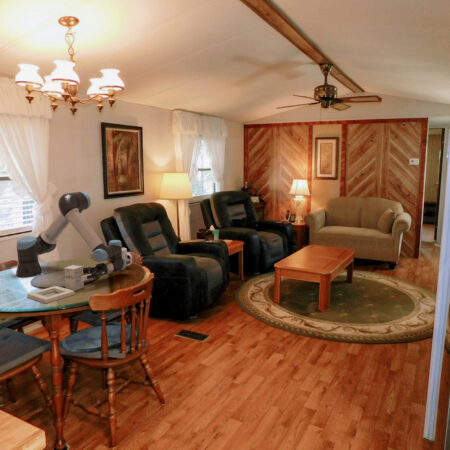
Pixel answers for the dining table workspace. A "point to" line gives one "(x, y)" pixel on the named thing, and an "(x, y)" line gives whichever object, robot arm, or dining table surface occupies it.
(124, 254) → the mug
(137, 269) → the dining table surface
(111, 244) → the robot arm
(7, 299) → the dining table surface
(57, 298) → the hole board
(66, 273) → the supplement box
